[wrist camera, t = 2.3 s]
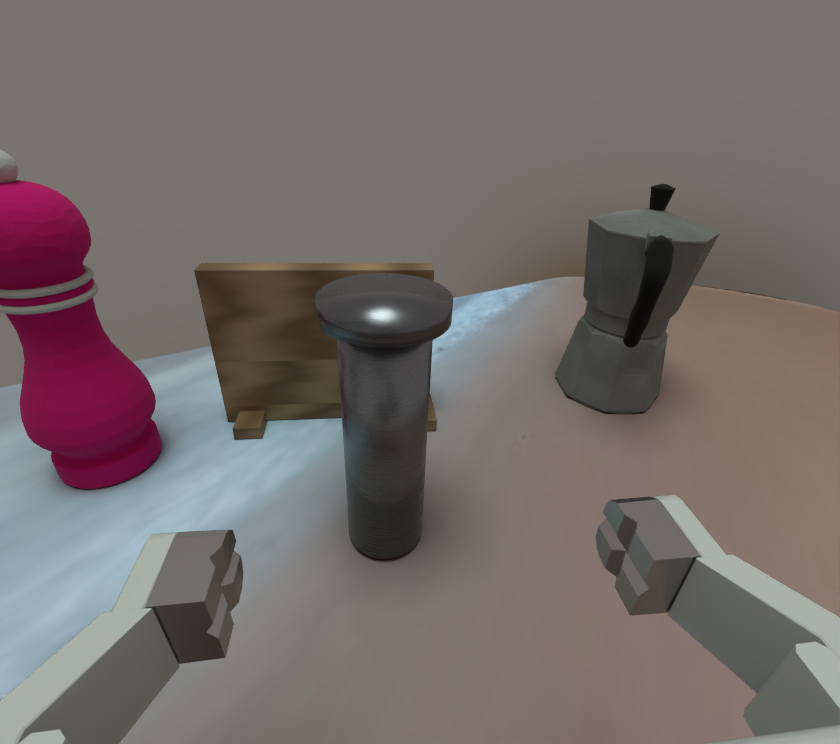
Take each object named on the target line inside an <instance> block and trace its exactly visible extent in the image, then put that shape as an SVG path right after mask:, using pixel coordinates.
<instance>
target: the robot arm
mask: <svg viewBox="0 0 840 744" xmlns="http://www.w3.org/2000/svg"><path fill="white" fill-rule="evenodd" d="M603 513H604V515H605V516H606V518H607V519H606V520H605V521H604V522H603V523H601V524H600V525H599V526H598V530H597V534H596V544H597V550H598V554H599V557H600V559H601V561H602V563H603V565H604V567H605V569H607V570H608V571H609V572H611V573H612V574H613V575H615V576H616V583H615V588H616V590H617V592H618V594H619V596H620V598H621V600H622V601H623V603H624V605H625V607H626V609H627V611H628V613H629V615H643V614H657V613H668V616H670V617H671V618H672V619H673V620H674V621H675V622H676V623H678V624H679V625H680V626H681V627H682V628H683V629H684V630H685V631H687V632H688V633H689V634H690V635H691V636H692V637H693V638H695V639H696V640H697V641H698V642H699V643H700V644H701V645H703V646H704V647H705V648H706V649H707V650H708V651H709V652H711V653H712V654H713V655H714V656H715V657H716V658H717V659H719V660H720V661H721V662H722V663H723V664H724V665H725V666H727V667H728V668H729V669H730V670H731V671H732V672H733V673H735V674H736V675H737V676H738V677H739V678H740V679H741V680H743V681H744V682H745V683H746V684H747V685H748V686H749V687H751V688H752V689H753V690H754V691H755V692H756V693H757V694H756V695H755V696H754V698H753V699H752V700H751V701H750V703H749V704H748V705H747V706H746V708H745V710H744V715H743V717H744V718H745V720H746V722H747V723H748V725H749V727H750V728H751V730H752V732H753V733H754V735H755V736H754V737H747V738H739V739H732V740H725V741H718V742H711V743H703V744H840V618H839V617H838V616H836V615H834V614H832V613H831V612H829V611H827V610H826V609H824V608H822V607H821V606H819V605H817V604H816V603H814V602H812V601H810V600H809V599H807V598H805V597H804V596H802V595H800V594H799V593H797V592H795V591H794V590H792V589H790V588H788V587H787V586H785V585H783V584H782V583H780V582H778V581H777V580H775V579H773V578H772V577H770V576H768V575H766V574H765V573H763V572H761V571H760V570H758V569H756V568H755V567H753V566H751V565H750V564H748V563H746V562H745V561H743V560H741V559H739V558H738V557H736V556H734V555H726V554H725V553H724V552H723V550H722V549H721V548H720V547H719V545H718V544H717V543H716V542H715V540H714V539H713V538H712V537H711V536H710V534H709V533H708V532H707V531H706V529H705V528H704V527H703V526H702V524H701V523H700V522H699V521H698V520H697V518H696V517H695V516H694V515H693V513H692V512H691V511H690V510H689V508H688V507H687V506H686V505H685V504H684V502H683V501H682V500H681V499H680V498H679V497H677V496H675V495H668V496H655V497H640V498H629V499H617V500H610V501H609V502H608V503H606V505H605V508H604V511H603ZM235 543H236V539H235V536H234V533H233V530H212V531H192V532H177V533H160V534H153V535H152V536H151V537H150V538H149V539H148V540H147V541H146V542H145V544H144V547H143V549H142V551H141V553H140V555H139V557H138V559H137V561H136V563H135V565H134V567H133V569H132V571H131V573H130V575H129V577H128V579H127V581H126V583H125V585H124V588H123V590H122V592H121V594H120V596H119V598H118V600H117V602H116V604H115V606H114V608H113V610H112V611H110V612H103V613H102V614H101V615H100V616H99V617H97V618H96V619H95V620H94V621H93V622H92V623H90V624H89V625H88V626H87V627H86V628H85V629H83V630H82V631H81V632H80V633H79V634H78V635H76V636H75V637H74V638H73V639H72V640H71V641H69V642H68V643H67V644H66V645H65V646H64V647H62V648H61V649H60V650H59V651H58V652H56V653H55V654H54V655H53V656H52V657H51V658H49V659H48V660H47V661H46V662H45V663H44V664H42V665H41V666H40V667H39V668H38V669H37V670H35V671H34V672H33V673H32V674H31V675H30V676H28V677H27V678H26V679H25V680H24V681H23V682H21V683H20V684H19V685H18V686H17V687H16V688H14V689H13V690H12V691H11V692H10V693H9V694H7V695H6V696H5V697H4V698H3V699H2V700H0V744H119V743H120V741H121V740H122V739H123V738H124V736H125V735H126V734H127V733H128V731H129V730H130V729H131V728H132V726H133V725H134V724H135V722H136V721H137V720H138V719H139V717H140V716H141V715H142V714H143V712H144V711H145V710H146V709H147V707H148V706H149V705H150V704H151V702H152V701H153V700H154V698H155V697H156V696H157V695H158V693H159V692H160V691H161V690H162V688H163V687H164V686H165V685H166V683H167V682H168V681H169V679H170V678H171V677H172V676H173V674H174V673H175V672H176V671H177V669H178V668H179V664H182V663H189V662H197V661H204V660H212V659H219V658H225V657H226V653H227V649H228V645H229V641H230V637H231V633H232V629H233V625H234V623H233V620H232V616H231V613H230V611H231V610H232V609H233V608H234V607H235V606H236V605H237V604H238V603H239V600H240V595H241V591H242V582H243V566H242V560H241V556H240V555H239V554H238V553H236V552H235V551H234V547H235Z"/></svg>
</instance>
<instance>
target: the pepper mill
mask: <svg viewBox="0 0 840 744" xmlns="http://www.w3.org/2000/svg"><path fill="white" fill-rule="evenodd" d="M17 175H18V168H17V165H16V163H15V161H14V160H13V159H12V157H11V156H9V155H8V154H7V153H5V152H4V151H2V150H0V312H2V313H5V314H6V315H7V317H8V318H9V320H10V321H11V323H12V325H13V326H14V328H15V329H16V331H17V333H18V336H19V339H20V341H21V344H22V347H23V353H24V359H25V362H24V376H23V382H22V390H21V397H20V410H21V418H22V422H23V424H24V427H25V430H26V432H27V435H28V436H29V438H30V439H31V440H32V441H33V442H34V443H35V444H37V445H38V446H40V447H42V448H43V449H46V450H49V451H52V453H51V459H52V462H53V464H54V466H55V468H56V470H57V472H58V474H59V476H60V478H61V479H62V480H63V482H65V483H66V484H68V485H70V486H73V487H77V488H81V489H96V488H103V487H108V486H112V485H115V484H118V483H121V482H123V481H126V480H128V479H130V478H132V477H134V476H136V475H138V474H139V473H141V472H142V471H144V470H145V469H147V468H148V467H149V466H150V465H151V464H152V463H153V462H154V461H155V460H156V459H157V457H158V455H159V453H160V451H161V447H162V443H161V439H160V436H159V433H158V430H157V427H156V424H155V422H154V421H153V420H152V419H150V418H151V416H152V414H153V412H154V409H155V404H156V400H155V395H154V392H153V390H152V388H151V386H150V383H149V382H148V380H147V378H146V377H145V376H144V374H143V373H142V372H141V370H140V369H139V368H138V367H137V366H136V365H135V364H134V363H133V362H132V361H131V360H129V359H128V358H127V357H126V356H125V355H124V354H123V353H122V352H121V351H120V350H119V349H118V348H117V347H116V346H115V345H114V344H113V343H112V342H111V341H110V339H109V338H108V336H107V335H106V333H105V332H104V331H103V328H102V326H101V324H100V321H99V319H98V316H97V314H96V310H95V305H94V301H93V296H95V295H96V293H97V292H98V286H97V284H96V283H95V282H94V280H93V278H92V277H93V271H92V269H90V268H89V267H87V266H85V265H83V260H84V258H85V256H86V254H87V253H88V251H89V249H90V246H91V237H90V232H89V228H88V225H87V223H86V221H85V219H84V217H83V216H82V214H81V213H80V211H79V210H78V209H77V208H76V206H75V205H74V204H73V203H72V202H71V201H70V200H69V199H68V198H66V197H65V196H63V195H62V194H60V193H59V192H57V191H55V190H53V189H51V188H49V187H46V186H43V185H40V184H36V183H32V182H26V181H19V180H15V179H16V178H17Z"/></svg>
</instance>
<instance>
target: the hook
mask: <svg viewBox="0 0 840 744" xmlns="http://www.w3.org/2000/svg"><path fill="white" fill-rule="evenodd" d="M315 301H316V312H317V322H318V325H319V327H320V328H321V329H322V330H323V331H324V332H325V333H326V334H328V335H329V336H331V337H333V338H335V339H337V347H338V362H339V378H340V394H341V410H342V425H343V441H344V457H345V472H346V488H347V504H348V520H349V534H350V538H351V541H352V542H353V544H354V545H355V547H356V548H357V549H358V550H359V551H361V552H362V553H364V554H366V555H368V556H371V557H374V558H381V559H388V558H394V557H398V556H401V555H403V554H405V553H407V552H408V551H410V550H411V549H412V548H413V547H414V546H415V545H416V544H417V542H418V540H419V538H420V536H421V530H422V514H423V497H424V479H425V462H426V444H427V427H428V410H429V392H430V375H431V357H432V340H433V339H435V338H437V337H439V336H441V335H442V334H444V333H445V332H446V331H447V330H448V328H449V327H450V325H451V319H452V307H453V297H452V294H451V293H450V292H449V291H448V289H446V288H445V287H443V286H442V285H440V284H438V283H436V282H434V281H431V280H428V279H425V278H421V277H416V276H411V275H404V274H393V273H371V274H361V275H354V276H349V277H344V278H341V279H338V280H335V281H332V282H330V283H328V284H326V285H325V286H323V287H322V288H321V289H320V290H319V291H318V292H317V294H316V297H315Z"/></svg>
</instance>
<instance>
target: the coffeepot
mask: <svg viewBox="0 0 840 744" xmlns="http://www.w3.org/2000/svg"><path fill="white" fill-rule="evenodd" d="M674 191H675V188H673V187H671V186H669V185H667V184H660V185H656V186H652V187H651V197H650V208H648V209H639V210H629V211H619V212H610V213H605V214H602V215H599V216H596V217H594V218H590V219H589V228H588V241H587V254H586V268H585V281H584V294H583V296H584V297H585V299H586V300H587V301H588V303H587V307H586V310H585V314H584V315H583V316H582V317H581V319H580V320H579V321H578V324H577V326H576V328H575V330H574V333H573V335H572V337H571V339H570V342H569V344H568V346H567V349H566V351H565V353H564V355H563V358H562V360H561V362H560V364H559V367H558V369H557V371H556V374H555V375H556V378H557V380H558V382H559V385H560V387H561V389H562V390H563V391H564V392H565V393H566V394H567V395H568V396H569V397H570V398H572V399H573V400H575V401H576V402H578V403H580V404H582V405H584V406H587V407H590V408H592V409H595V410H599V411H603V412H608V413H614V414H634V413H638V412H644V411H646V410H647V409H648V408H649V407H650V406H651V405H652V403H653V401H654V400H655V399H656V398H657V396H658V395H659V390H660V383H661V376H662V369H663V363H664V356H665V349H666V343H667V336H668V335H667V333H666V328H667V325H668V322H669V319H670V318H671V317H672V316H673V315H674V314H675V313H676V312H677V311H678V309H679V307H680V305H681V304H682V302H683V300H684V298H685V296H686V294H687V293H688V291H689V289H690V287H691V285H692V283H693V281H694V280H695V278H696V276H697V274H698V272H699V270H700V269H701V267H702V265H703V263H704V261H705V259H706V257H707V256H708V254H709V252H710V250H711V248H712V246H713V245H714V243H715V241H716V239H717V237H718V236H719V234H720V233H719V232H716V231H714V230H711V229H709V228H707V227H704V226H702V225H699V224H697V223H694V222H692V221H690V220H687V219H685V218H682V217H680V216H677V215H675V214H673V213H670V212H667V211H665V209H666V206H667V205H668V203H669V200H670V199H671V197H672V195H673V193H674Z"/></svg>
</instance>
